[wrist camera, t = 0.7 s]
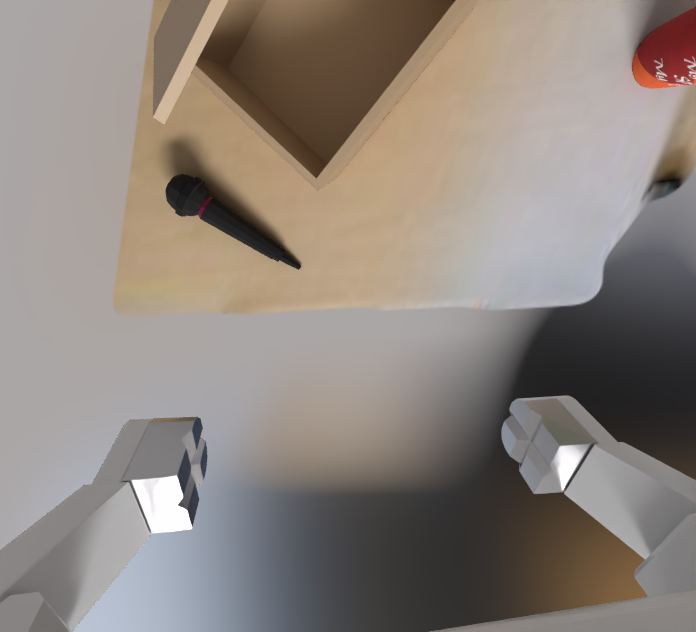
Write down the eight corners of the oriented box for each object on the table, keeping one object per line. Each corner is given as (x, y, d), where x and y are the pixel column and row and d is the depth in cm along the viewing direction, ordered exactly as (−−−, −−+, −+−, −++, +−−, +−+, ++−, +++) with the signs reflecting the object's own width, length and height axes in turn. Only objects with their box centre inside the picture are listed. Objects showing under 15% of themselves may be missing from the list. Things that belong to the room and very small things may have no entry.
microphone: (308, 250, 53) (185, 168, 47) (311, 254, 48) (172, 162, 42) (289, 279, 54) (166, 202, 48) (290, 287, 49) (151, 200, 43)
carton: (221, 70, 41) (161, 45, 31) (341, -147, 32) (316, -289, 22) (335, 179, 45) (317, 190, 34) (470, 12, 36) (502, -42, 26)
